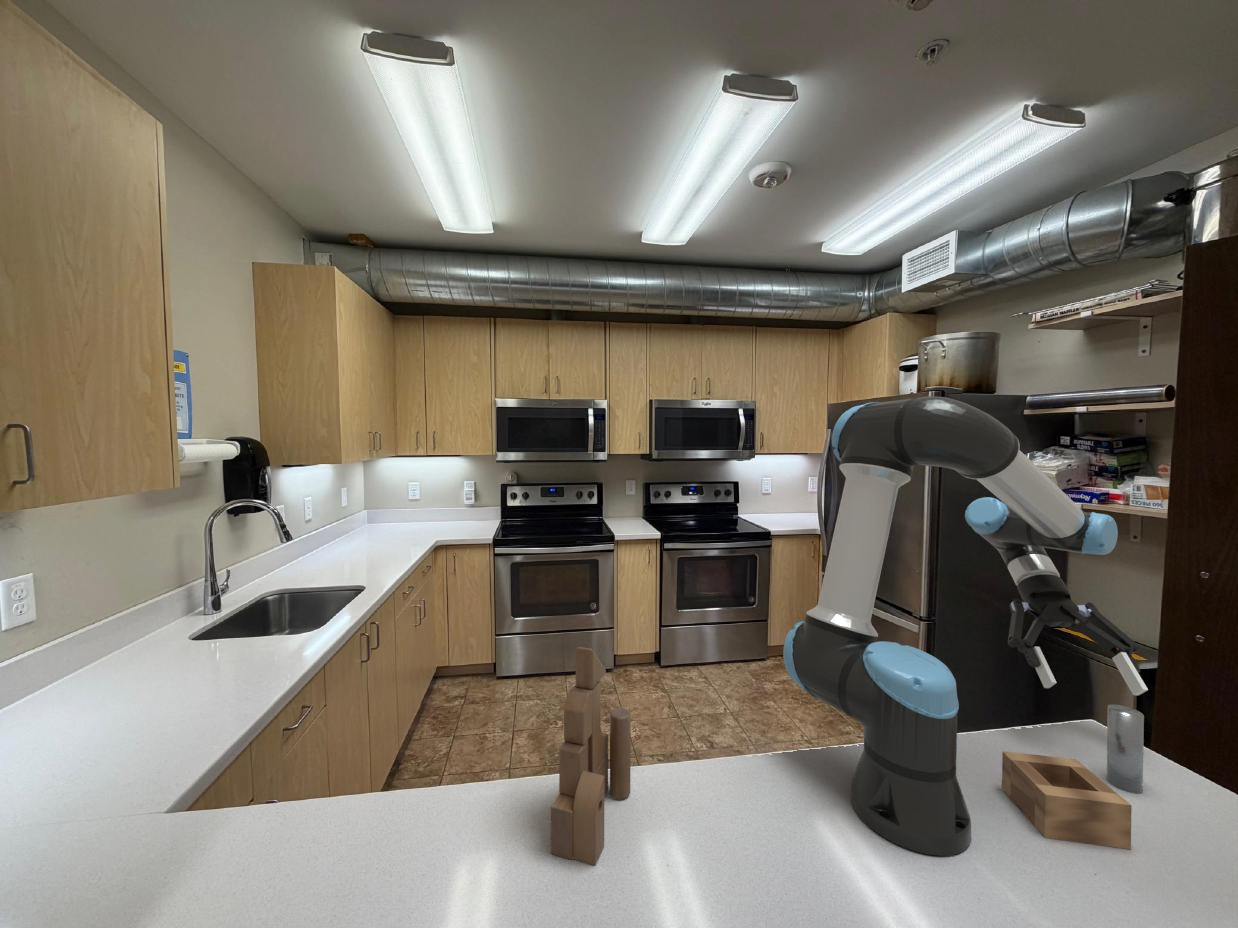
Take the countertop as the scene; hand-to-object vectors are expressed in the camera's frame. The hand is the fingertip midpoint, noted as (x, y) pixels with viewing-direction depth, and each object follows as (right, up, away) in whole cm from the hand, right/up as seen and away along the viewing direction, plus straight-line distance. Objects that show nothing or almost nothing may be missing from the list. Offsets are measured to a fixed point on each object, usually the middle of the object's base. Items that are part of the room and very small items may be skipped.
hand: (1095, 689), depth 84 cm
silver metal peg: (-2, -12, -7) cm, 14 cm away
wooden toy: (-87, -12, -15) cm, 89 cm away
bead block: (-19, -12, -14) cm, 26 cm away
